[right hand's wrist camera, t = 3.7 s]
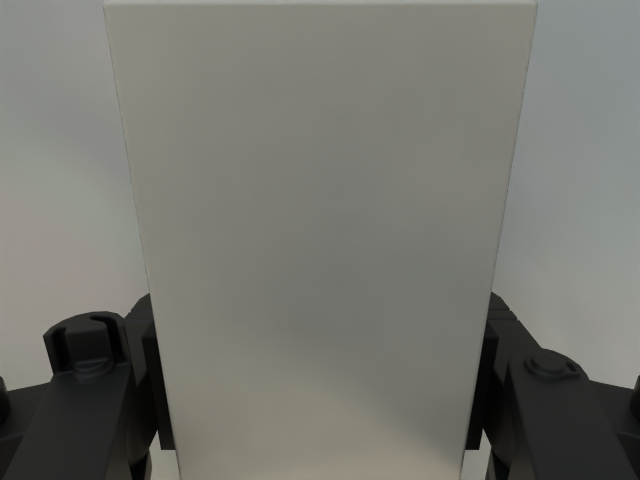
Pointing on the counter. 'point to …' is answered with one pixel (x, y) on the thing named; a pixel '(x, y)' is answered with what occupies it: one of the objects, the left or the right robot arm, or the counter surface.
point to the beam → (320, 222)
